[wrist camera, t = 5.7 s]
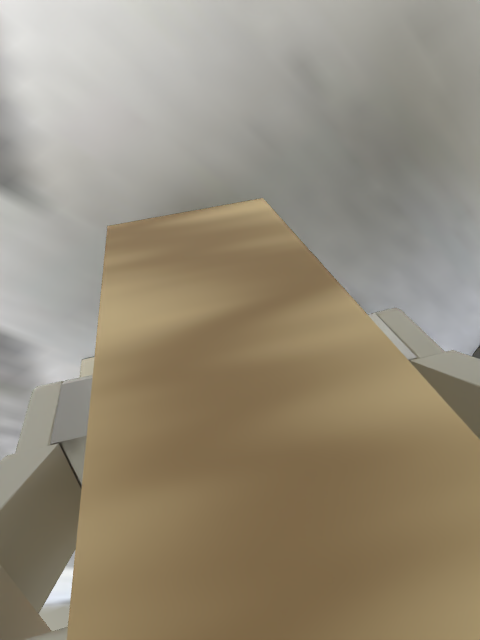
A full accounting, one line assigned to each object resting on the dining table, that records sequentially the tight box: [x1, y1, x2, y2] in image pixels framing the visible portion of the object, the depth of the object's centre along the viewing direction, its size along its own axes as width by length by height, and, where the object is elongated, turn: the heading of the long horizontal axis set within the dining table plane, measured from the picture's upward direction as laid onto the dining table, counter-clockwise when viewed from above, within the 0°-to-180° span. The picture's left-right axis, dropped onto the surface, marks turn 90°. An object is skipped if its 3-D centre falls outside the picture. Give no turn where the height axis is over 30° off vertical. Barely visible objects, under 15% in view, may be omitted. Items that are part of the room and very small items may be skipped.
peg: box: [67, 198, 480, 640], centre depth 8 cm, size 4×4×10 cm
